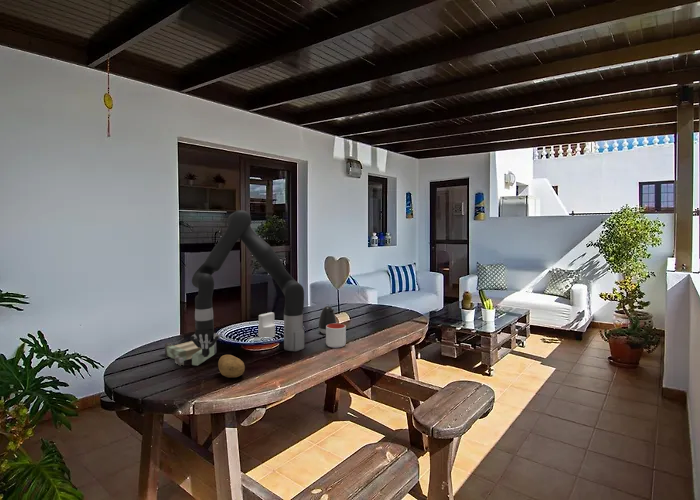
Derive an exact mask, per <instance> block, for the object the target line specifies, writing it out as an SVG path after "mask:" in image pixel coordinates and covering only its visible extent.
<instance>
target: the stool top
mask: <svg viewBox="0 0 700 500" xmlns="http://www.w3.org/2000/svg"><path fill="white" fill-rule="evenodd" d="M201 349H202V348H200V347H199V348H198V347H197V346H196V345H195V344H194V343H193V341H192V340H190V341H185V342H182V343H178V344H174V345H173V344H172V342H165V343H164V355H165V356H166V357H169V358H171V359H174V364H175V363H176V365H177V364H178V366H180V367H182V366H181V365H183V366H185V361H188V360H192V355H193V354H195V353H196V352H198V351H199V350H201Z"/></svg>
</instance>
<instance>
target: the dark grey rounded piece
mask: <svg viewBox="0 0 700 500" xmlns="http://www.w3.org/2000/svg"><path fill="white" fill-rule="evenodd" d="M333 323H337V319H336V314H335V310H334V308H332V306H329V305H327V306H324V307H323V308H322V309H321V312H320V315H319V319H318V329H319V331H320V332H321V334H324V335H326V325H328V324H333Z"/></svg>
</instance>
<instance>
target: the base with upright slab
mask: <svg viewBox="0 0 700 500" xmlns="http://www.w3.org/2000/svg"><path fill="white" fill-rule="evenodd" d="M257 326H258V328H257V329H258V331H257V333H258V335H257V336H259V337H258V338H260V337H272V338H274V337H276V324H275V312H272V311H270V312H267V313H266V312H265V313H261V314H259V315H258V325H257ZM273 336H274V337H273Z"/></svg>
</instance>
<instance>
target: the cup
mask: <svg viewBox="0 0 700 500" xmlns="http://www.w3.org/2000/svg"><path fill="white" fill-rule="evenodd" d="M346 329H347V325H345V324H343V323H337V322H336V323H333V324H328V325H326V334H325V344H326V346H327V347H329V348H333V349H334V348H336V349H337V348H338V349H339V348H342V347H344V346H345V345H346V342H347V341H346V340H347V337H346V336H347V333H346V332H347V330H346Z"/></svg>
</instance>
